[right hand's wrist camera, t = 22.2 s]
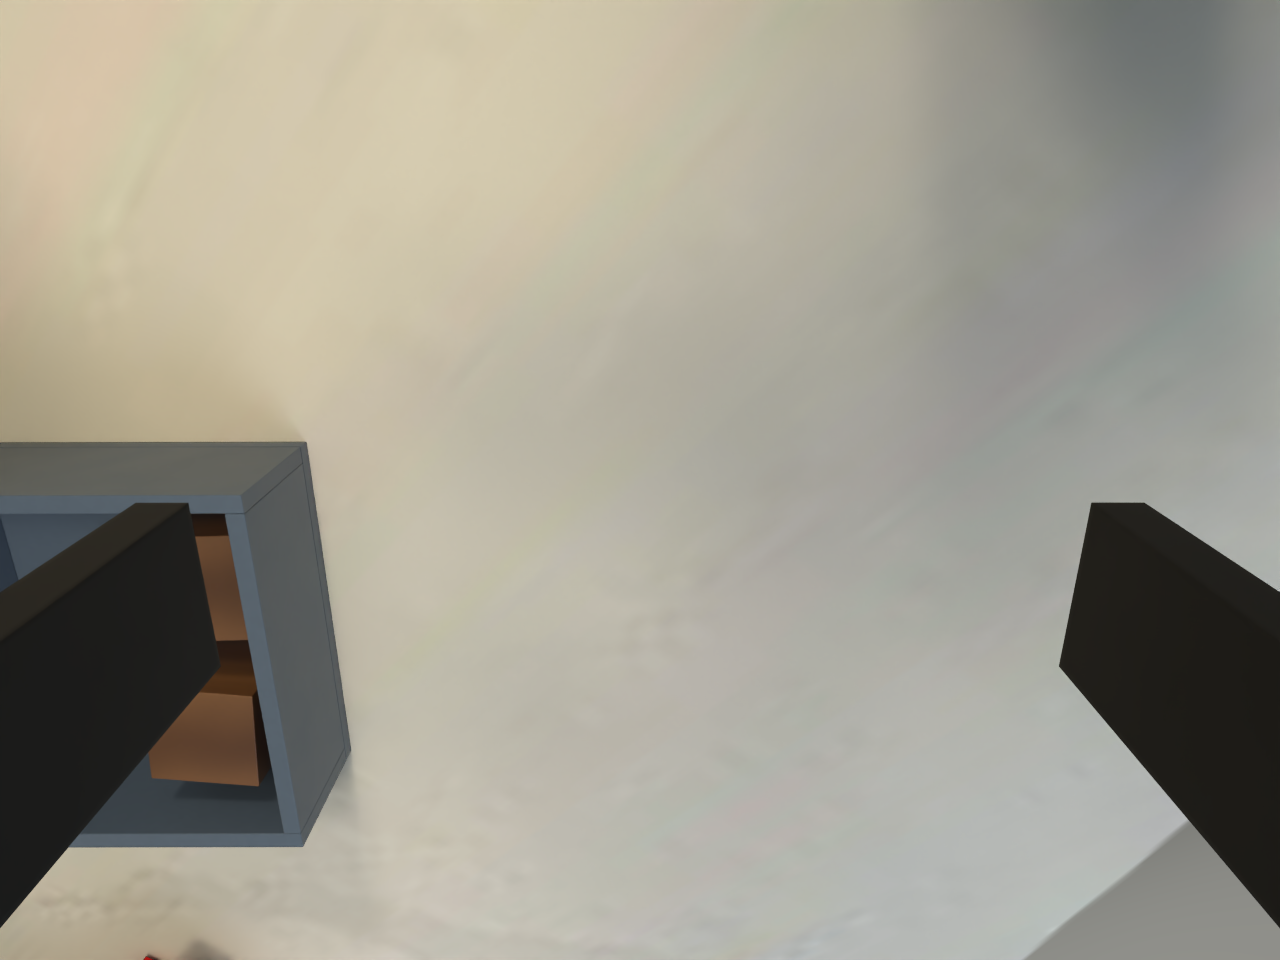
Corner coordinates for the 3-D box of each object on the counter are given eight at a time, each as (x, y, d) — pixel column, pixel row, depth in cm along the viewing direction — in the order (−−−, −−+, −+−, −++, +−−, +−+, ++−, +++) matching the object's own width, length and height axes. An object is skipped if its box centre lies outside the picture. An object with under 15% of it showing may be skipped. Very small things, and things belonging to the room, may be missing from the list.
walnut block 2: (195, 630, 42) (139, 687, 38) (295, 638, 43) (251, 696, 38) (203, 713, 44) (151, 778, 39) (299, 721, 44) (259, 786, 40)
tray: (-236, 442, 40) (-409, 496, 33) (306, 441, 40) (240, 494, 33) (-119, 751, 46) (-246, 848, 39) (351, 750, 46) (303, 847, 39)
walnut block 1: (175, 495, 40) (113, 538, 35) (280, 492, 40) (232, 535, 35) (198, 589, 42) (141, 643, 37) (298, 587, 42) (254, 640, 37)
